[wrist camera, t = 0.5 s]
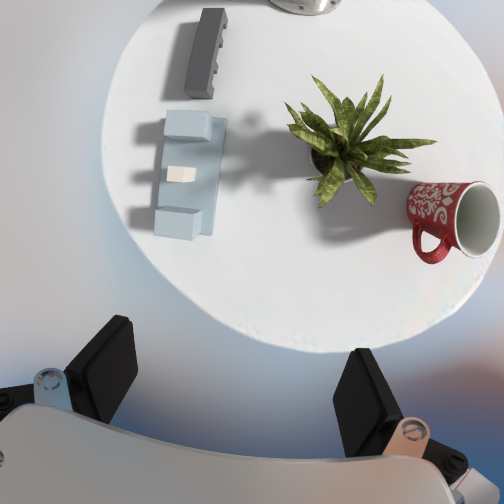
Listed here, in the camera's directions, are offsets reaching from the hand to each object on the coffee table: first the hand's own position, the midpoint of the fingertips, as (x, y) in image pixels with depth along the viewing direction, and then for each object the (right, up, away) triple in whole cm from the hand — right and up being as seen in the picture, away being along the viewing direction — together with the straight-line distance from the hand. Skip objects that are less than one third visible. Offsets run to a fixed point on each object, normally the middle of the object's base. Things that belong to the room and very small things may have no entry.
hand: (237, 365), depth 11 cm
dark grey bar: (-5, +33, +21) cm, 39 cm away
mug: (+26, +11, +26) cm, 38 cm away
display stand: (-8, +15, +26) cm, 31 cm away
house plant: (+12, +19, +24) cm, 33 cm away
